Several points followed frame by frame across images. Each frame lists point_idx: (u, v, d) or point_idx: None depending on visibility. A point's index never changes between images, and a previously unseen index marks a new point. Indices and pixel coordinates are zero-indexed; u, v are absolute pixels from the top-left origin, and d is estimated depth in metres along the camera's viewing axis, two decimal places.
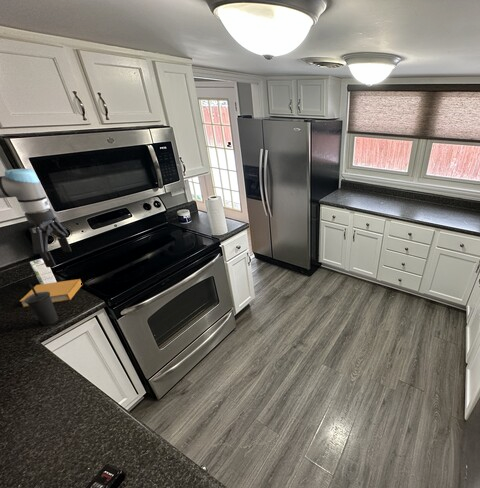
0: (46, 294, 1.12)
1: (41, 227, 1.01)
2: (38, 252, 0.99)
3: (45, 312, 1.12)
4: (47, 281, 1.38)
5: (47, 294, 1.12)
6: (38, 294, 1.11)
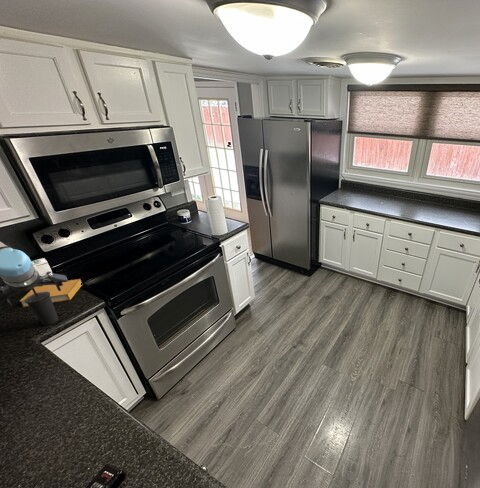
0: (46, 294, 1.12)
1: (10, 289, 0.89)
2: None
3: (45, 312, 1.12)
4: None
5: (47, 294, 1.12)
6: (38, 294, 1.11)
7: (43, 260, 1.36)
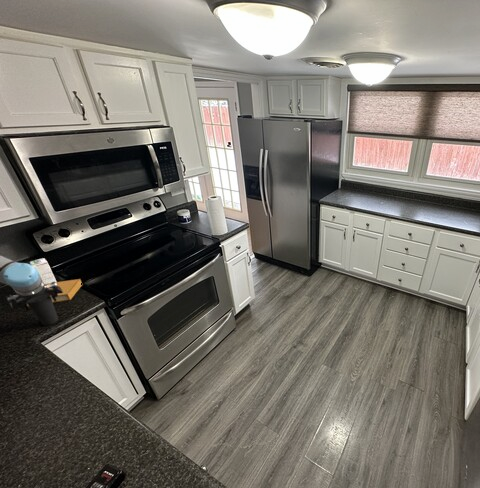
0: None
1: (19, 297, 1.00)
2: None
3: (45, 312, 1.12)
4: (47, 281, 1.38)
5: None
6: None
7: (43, 260, 1.36)
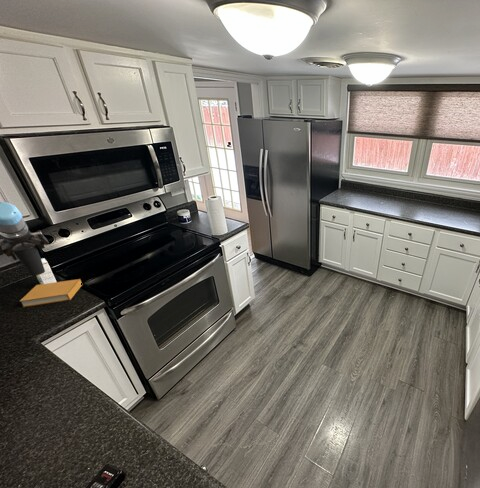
0: (33, 244, 1.14)
1: (4, 241, 1.03)
2: None
3: (31, 262, 1.15)
4: (47, 281, 1.38)
5: (34, 244, 1.15)
6: (25, 243, 1.13)
7: (43, 260, 1.36)
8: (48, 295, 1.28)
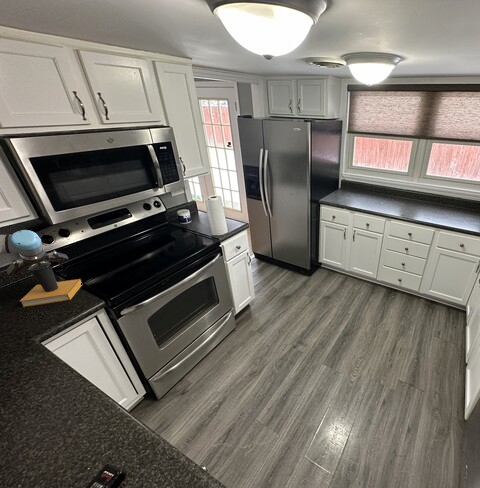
0: (48, 264, 1.27)
1: (23, 262, 1.15)
2: (7, 272, 1.16)
3: (47, 280, 1.27)
4: None
5: (48, 264, 1.27)
6: (41, 263, 1.26)
7: None
8: (48, 295, 1.28)
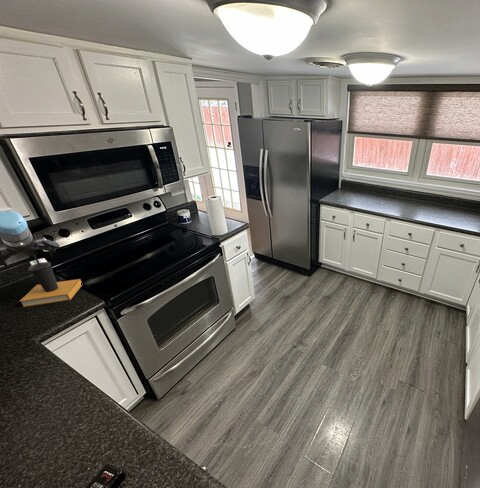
0: (47, 264, 1.27)
1: (7, 250, 1.00)
2: None
3: (47, 280, 1.27)
4: None
5: (48, 264, 1.27)
6: (40, 263, 1.26)
7: (43, 260, 1.36)
8: (48, 295, 1.28)
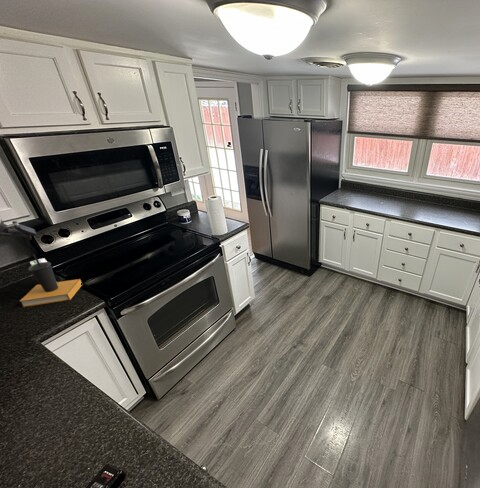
0: (47, 264, 1.27)
1: None
2: None
3: (47, 280, 1.27)
4: None
5: (48, 264, 1.27)
6: (40, 263, 1.26)
7: (43, 260, 1.36)
8: (48, 295, 1.28)
